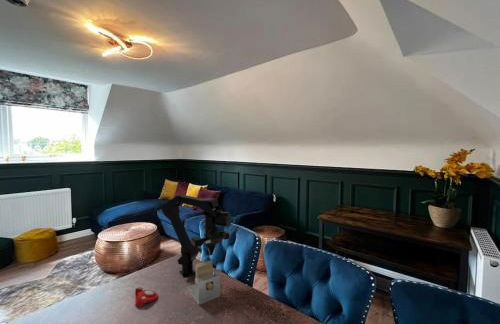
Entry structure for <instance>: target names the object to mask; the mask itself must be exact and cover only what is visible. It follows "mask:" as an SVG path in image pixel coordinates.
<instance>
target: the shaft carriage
mask: <svg viewBox="0 0 500 324" xmlns="http://www.w3.org/2000/svg"><path fill="white" fill-rule="evenodd" d="M213 264H214V263H213V261H212V260H207V261H203V262H199V263H196V264H195V278H198V277H201V276H204V275H207V274H210V273H213V272H214V270H213V269H214V268H213V267H214V265H213ZM206 287H207V288H208V289H209V290H210V291H212V290H213V289H214V285H213V284H212V283H211V282H209V283H206Z"/></svg>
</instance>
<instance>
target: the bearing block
mask: <svg viewBox="0 0 500 324" xmlns="http://www.w3.org/2000/svg"><path fill="white" fill-rule="evenodd" d="M209 282H211V283H212V284H213V285H214V289H213V290H212V291H210V290H209V289H208V288H207V287H206V283H209ZM186 289H187V290H188V293H189V294H190V295H191V296H192V298H193V300H195V302H196V304H197V305H202V304H205V303H207V302H210V301H212V300H215V299H217V298H220V297H221V275H220V273H218V272H217V271H213V273H210V274H207V275H204V276H201V277H198V278H196V277H195V278H194V284H190V285H188V286H186Z"/></svg>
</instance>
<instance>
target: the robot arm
mask: <svg viewBox="0 0 500 324" xmlns="http://www.w3.org/2000/svg"><path fill="white" fill-rule="evenodd" d="M182 204H183V205H188V206H192V207H196V208H198V209H200V210H201V211H202V212H201V213H200V215H201V216H204V225H203V228H204V233H203V236H204V237H200V235H199V236H194V237H192V238H191V240H190V238H189V237H190V236H189V235H188V233H187V230H186V228H185V226H184V223H183V221H182V219H181V217H180V206H182ZM161 212H162V213H163V215H164V217H165V218H166V219H168V220H169V221H170V223H171V225H172V227H173V230H174V232H175V234H176V237H177V239H178V242H179V244H180V255H181V256H180V257H179V258H178V259H177V264H178V265H181V270H179V273H180V275H181V276H182V278H186V277H189V276H192V275H196V270H194V260H196V259H197V257H198V255H199V250H200V249H199V247H202V246H203V245H205V246H206V248H207V251H208V253H209V255H210V256H213V254H214V252H215V248H216V246H217V245H218V244H222V241H223V240H230V239H231V234H230V233H229V232H227V231H226V230H221V231H219V227H218V226H220V227H226V228H229V227H230V226H231V224H232V222H233V221H232V215H231V214H230V211H223V209H222V207H221V206H220V204H219V202H218V199H216V198H215V197H208V198H207V197H206V198H201V197H195V196H191V195H186V194H183V193H180V194H177V195H175V196H174V197H173V198H171V199H170V200H169V201H167V202H165V203H163V204H162V206H161Z"/></svg>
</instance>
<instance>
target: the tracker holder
mask: <svg viewBox="0 0 500 324" xmlns="http://www.w3.org/2000/svg"><path fill="white" fill-rule="evenodd" d="M134 290H135V292H134V296H135V302H134V304H135V306H137V307H141V306H143V305H145V304H146V303H149V302H154V301H157V300H158V295H159V294H158V293H157V292H156V291H153V290H150V289H144V288H143V287H139V286H138V287H136V288H134Z"/></svg>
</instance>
